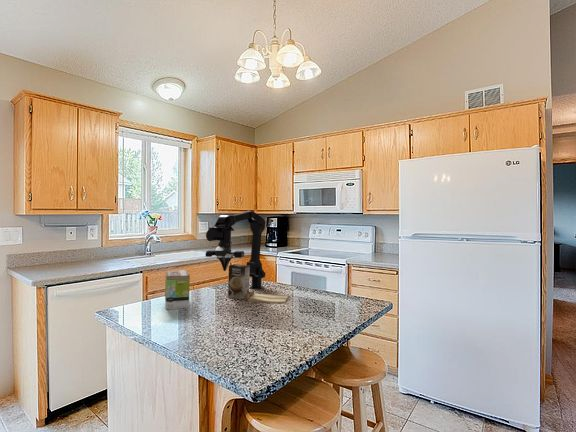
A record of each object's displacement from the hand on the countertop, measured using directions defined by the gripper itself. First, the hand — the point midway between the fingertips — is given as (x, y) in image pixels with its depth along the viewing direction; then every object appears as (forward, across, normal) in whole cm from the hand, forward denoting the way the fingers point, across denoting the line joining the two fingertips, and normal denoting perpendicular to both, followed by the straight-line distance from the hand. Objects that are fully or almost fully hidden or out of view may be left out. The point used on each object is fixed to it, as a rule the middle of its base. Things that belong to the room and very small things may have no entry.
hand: (224, 270), depth 167 cm
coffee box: (+13, +7, 0) cm, 15 cm away
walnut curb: (+13, +13, 0) cm, 18 cm away
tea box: (+13, -17, -18) cm, 28 cm away
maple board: (+13, +23, -1) cm, 26 cm away
